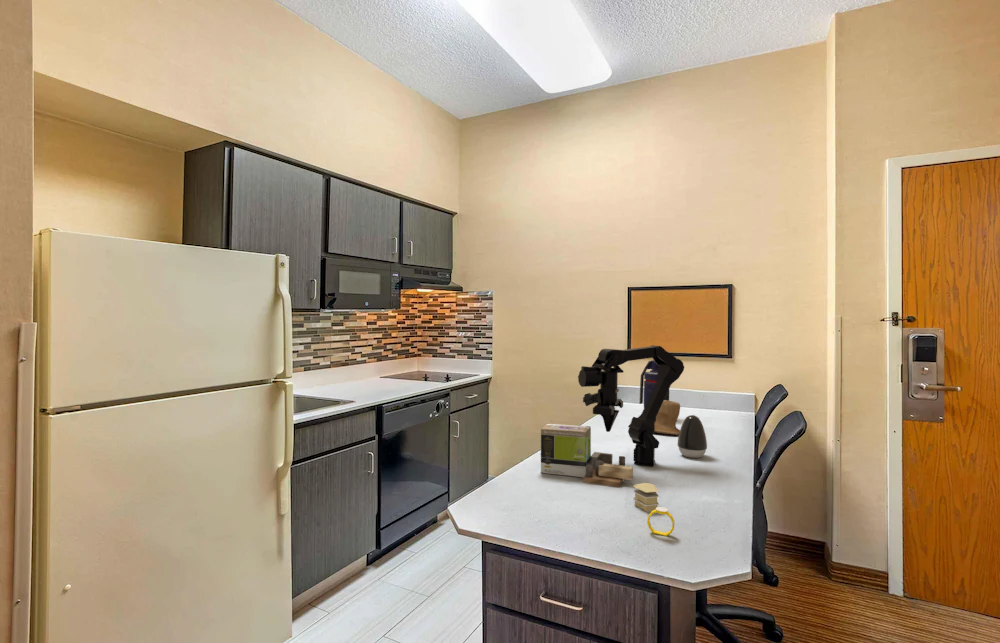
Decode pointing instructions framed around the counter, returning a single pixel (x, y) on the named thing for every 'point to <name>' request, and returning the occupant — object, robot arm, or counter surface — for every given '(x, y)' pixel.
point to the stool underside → (603, 480)
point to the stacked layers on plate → (646, 496)
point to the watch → (661, 511)
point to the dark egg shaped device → (692, 438)
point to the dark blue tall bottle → (649, 382)
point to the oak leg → (614, 470)
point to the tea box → (565, 449)
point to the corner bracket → (600, 458)
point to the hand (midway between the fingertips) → (608, 431)
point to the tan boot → (667, 418)
